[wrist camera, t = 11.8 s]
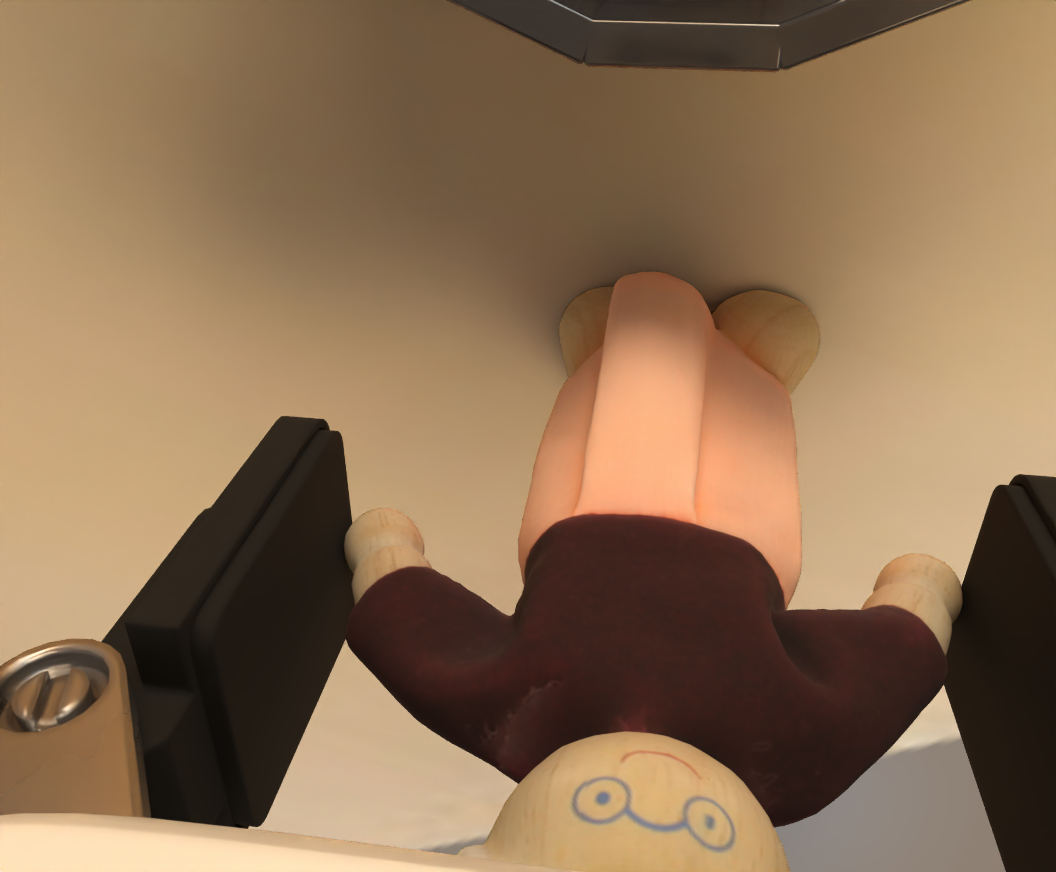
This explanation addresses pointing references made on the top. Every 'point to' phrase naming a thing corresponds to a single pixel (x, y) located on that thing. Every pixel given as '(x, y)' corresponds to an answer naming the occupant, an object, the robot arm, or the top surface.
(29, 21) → the top surface
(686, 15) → the pan
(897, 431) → the top surface
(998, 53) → the top surface
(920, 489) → the top surface
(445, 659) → the grandmother figurine
